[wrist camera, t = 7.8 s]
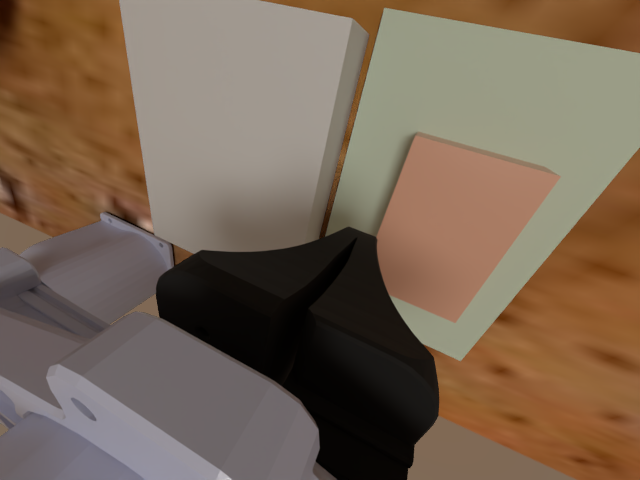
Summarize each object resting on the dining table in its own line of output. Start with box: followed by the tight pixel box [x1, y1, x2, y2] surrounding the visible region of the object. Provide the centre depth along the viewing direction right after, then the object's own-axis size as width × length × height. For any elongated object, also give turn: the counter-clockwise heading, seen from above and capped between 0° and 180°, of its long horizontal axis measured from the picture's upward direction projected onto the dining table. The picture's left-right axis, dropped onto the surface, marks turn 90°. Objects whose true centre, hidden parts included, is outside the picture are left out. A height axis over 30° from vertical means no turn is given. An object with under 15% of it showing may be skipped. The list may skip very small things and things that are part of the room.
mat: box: [325, 8, 640, 361], centre depth 16 cm, size 12×18×1 cm, turn 167°
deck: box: [119, 0, 369, 254], centre depth 17 cm, size 13×16×3 cm
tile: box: [376, 132, 561, 323], centre depth 14 cm, size 6×9×2 cm, turn 167°
